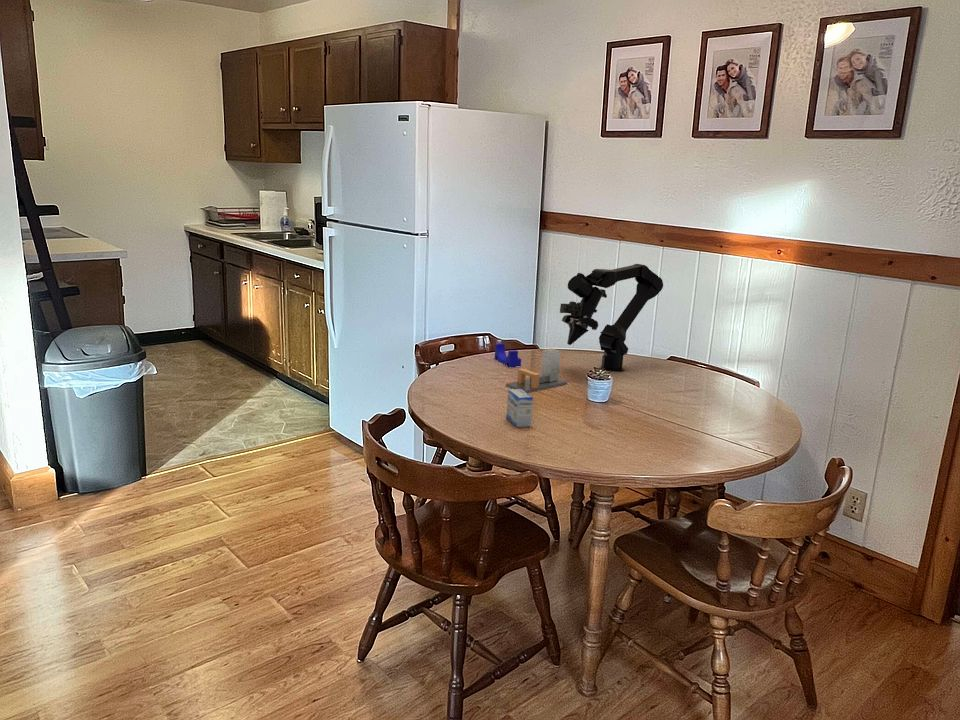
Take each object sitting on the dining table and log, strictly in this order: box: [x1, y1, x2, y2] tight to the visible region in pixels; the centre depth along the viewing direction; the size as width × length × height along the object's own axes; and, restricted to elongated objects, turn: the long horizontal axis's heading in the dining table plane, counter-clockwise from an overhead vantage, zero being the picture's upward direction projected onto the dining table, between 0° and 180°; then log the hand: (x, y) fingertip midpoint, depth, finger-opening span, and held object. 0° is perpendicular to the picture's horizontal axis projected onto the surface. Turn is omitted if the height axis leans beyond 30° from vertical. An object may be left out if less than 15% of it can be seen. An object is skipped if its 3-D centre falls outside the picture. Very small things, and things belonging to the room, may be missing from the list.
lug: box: [516, 368, 540, 388], centre depth 242 cm, size 2×8×4 cm, turn 40°
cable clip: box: [494, 343, 522, 368], centre depth 270 cm, size 12×4×6 cm, turn 25°
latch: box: [529, 348, 561, 383], centre depth 245 cm, size 10×4×10 cm, turn 130°
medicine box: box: [505, 388, 534, 428], centre depth 208 cm, size 8×4×9 cm, turn 21°
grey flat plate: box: [505, 378, 568, 394], centre depth 245 cm, size 19×9×1 cm, turn 130°
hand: (568, 344), depth 254 cm, fingers closed
